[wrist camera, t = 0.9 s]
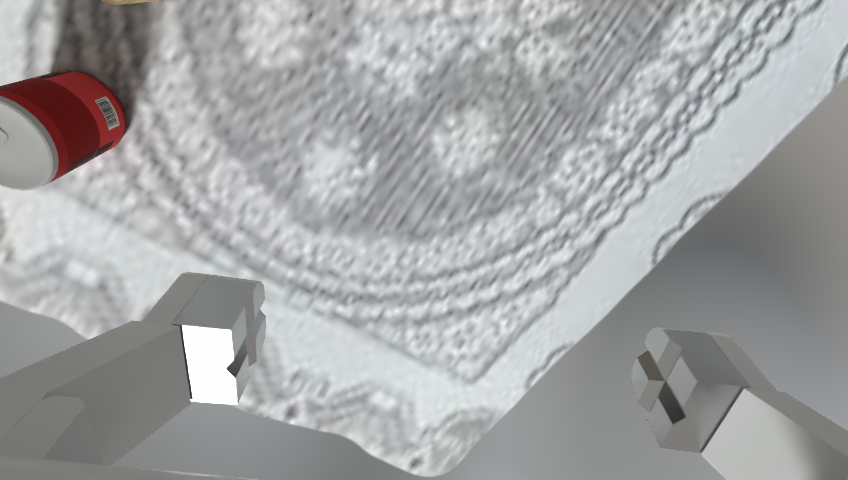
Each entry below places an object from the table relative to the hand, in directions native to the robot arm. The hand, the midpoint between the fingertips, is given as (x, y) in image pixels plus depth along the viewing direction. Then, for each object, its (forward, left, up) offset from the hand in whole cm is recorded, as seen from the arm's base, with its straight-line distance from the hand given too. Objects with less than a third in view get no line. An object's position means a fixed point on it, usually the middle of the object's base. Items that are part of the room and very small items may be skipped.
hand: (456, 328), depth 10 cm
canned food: (+10, -33, -39) cm, 52 cm away
